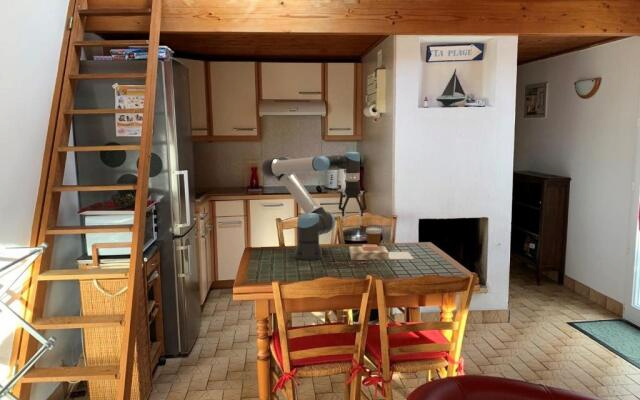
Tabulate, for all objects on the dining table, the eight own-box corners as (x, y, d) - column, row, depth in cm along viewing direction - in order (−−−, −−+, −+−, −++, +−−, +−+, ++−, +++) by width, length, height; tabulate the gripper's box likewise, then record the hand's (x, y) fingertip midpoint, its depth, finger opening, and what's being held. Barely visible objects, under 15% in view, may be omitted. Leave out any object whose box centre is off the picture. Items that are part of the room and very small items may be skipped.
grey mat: (389, 259, 257) (389, 258, 257) (385, 252, 272) (385, 251, 272) (413, 259, 258) (413, 258, 258) (408, 252, 273) (408, 251, 272)
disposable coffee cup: (378, 251, 275) (378, 231, 274) (363, 249, 279) (363, 229, 278) (383, 248, 284) (384, 228, 282) (368, 246, 288) (368, 226, 286)
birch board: (351, 259, 258) (351, 252, 257) (349, 253, 271) (349, 246, 271) (388, 259, 258) (388, 252, 257) (384, 253, 272) (384, 246, 271)
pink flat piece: (363, 250, 261) (363, 247, 261) (362, 248, 267) (362, 244, 267) (378, 250, 261) (378, 247, 261) (376, 248, 267) (376, 244, 267)
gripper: (333, 181, 255) (333, 223, 258) (372, 181, 255) (371, 223, 258) (333, 180, 262) (333, 221, 265) (370, 179, 263) (370, 221, 266)
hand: (352, 222), depth 262 cm, fingers open, 8 cm apart
